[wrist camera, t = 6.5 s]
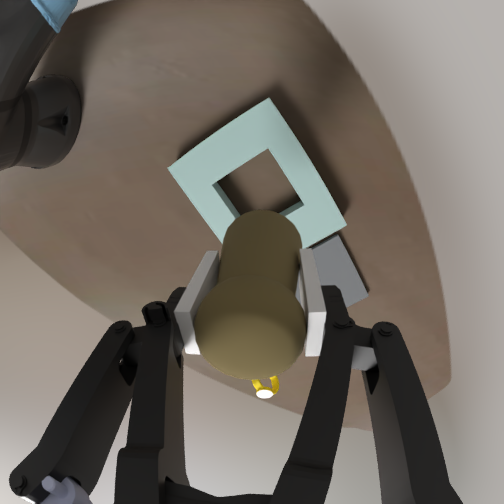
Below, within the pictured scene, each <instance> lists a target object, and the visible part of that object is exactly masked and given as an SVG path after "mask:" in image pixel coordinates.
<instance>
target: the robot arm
mask: <svg viewBox="0 0 504 504" xmlns="http://www.w3.org/2000/svg"><path fill="white" fill-rule="evenodd" d="M77 2H78V0H0V171H1V170H4V169H7V168H10V167H13V166H25V167H31V168H35V169H42V168H46V167H50V166H53V165H55V164H57V163H59V162H60V161H61V160H63V159H64V158H65V156H66V155H67V154H68V153H69V151H70V150H71V148H72V146H73V144H74V142H75V139H76V136H77V133H78V130H79V125H80V118H81V103H80V97H79V93H78V90H77V88H76V86H75V85H74V83H73V82H72V81H71V80H70V79H69V78H67V77H65V76H61V75H46V76H43V77H40V78H38V79H36V80H35V81H30V82H29V80H30V78H31V76H32V74H33V72H34V70H35V68H36V66H37V65H38V63H39V61H40V59H41V58H42V56H43V54H44V53H45V51H46V49H47V48H48V46H49V45H50V43H51V42H52V40H53V39H54V37H55V36H56V35H57V33H59V32H60V31H61V27H62V25H63V24H64V22H65V21H66V19H67V18H68V16H69V15H70V14H71V12H72V11H73V9H74V8H75V6H76V5H77ZM219 265H220V260H219V253H218V251H207V252H206V254H205V255H204V257H203V259H202V261H201V263H200V264H199V266H198V268H197V270H196V272H195V273H194V275H193V277H192V279H191V281H190V282H189V284H188V286H187V287H178V288H177V289H176V290H174V291H173V292H172V294H171V295H170V297H169V299H168V300H167V303H165V302H162V301H155V302H151V303H149V304H147V305H145V306H144V307H143V309H142V313H143V316H144V319H145V322H146V326H141V327H134V328H133V327H132V325H131V323H130V322H129V321H125V320H124V321H118V322H115V323H114V324H112V325H111V326H110V327H109V329H108V330H107V331H106V333H105V334H104V336H103V337H102V339H101V340H100V342H99V343H98V345H97V346H96V348H95V349H94V351H93V352H92V354H91V355H90V357H89V358H88V360H87V361H86V363H85V365H84V366H83V368H82V369H81V371H80V372H79V374H78V376H77V377H76V379H75V381H74V382H73V384H72V385H71V387H70V389H69V390H68V392H67V394H66V395H65V397H64V399H63V400H62V402H61V404H60V406H59V407H58V409H57V411H56V413H55V415H54V416H53V418H52V420H51V421H50V423H49V425H48V427H47V429H46V431H45V433H44V434H43V436H42V439H41V440H40V442H39V444H38V446H37V447H36V448H35V449H34V450H33V451H32V452H31V453H30V454H29V455H28V456H27V457H26V458H25V459H24V460H23V461H22V462H21V463H20V464H19V465H18V466H17V467H16V468H15V469H14V470H13V471H12V473H11V474H10V478H9V483H10V487H11V489H12V491H13V492H14V493H15V494H16V495H18V496H19V497H21V498H23V499H24V500H26V501H28V502H30V503H31V504H92V502H91V501H90V500H89V495H90V494H91V492H92V491H93V489H94V487H95V486H96V484H97V482H98V479H99V477H100V475H101V472H102V470H103V467H104V465H105V462H106V459H107V457H108V454H109V452H110V449H111V446H112V444H113V442H114V439H115V437H116V434H117V432H118V429H119V427H120V425H121V422H122V420H123V417H124V415H125V413H126V410H127V408H128V406H129V404H130V401H131V399H132V405H131V411H130V419H129V427H128V435H127V444H126V447H125V448H121V449H120V450H119V452H118V456H117V466H116V480H115V497H114V504H324V502H325V498H326V495H327V491H328V489H329V485H330V481H331V477H332V468H333V463H334V459H335V455H336V451H337V446H338V442H339V437H340V433H341V428H342V423H343V418H344V412H345V407H346V401H347V395H348V388H349V381H350V374H351V368H352V369H358V370H362V375H363V380H364V385H365V390H366V395H367V400H368V405H369V410H370V416H371V421H372V427H373V433H374V439H375V447H376V454H377V461H378V469H379V478H380V488H381V497H382V498H381V499H382V504H463V503H462V501H461V500H460V498H459V496H458V495H457V493H456V492H455V491H454V489H453V487H452V486H451V484H450V483H449V478H448V473H447V469H446V464H445V460H444V456H443V452H442V448H441V444H440V441H439V437H438V434H437V430H436V427H435V424H434V421H433V417H432V414H431V411H430V408H429V405H428V402H427V399H426V396H425V393H424V390H423V388H422V385H421V382H420V379H419V377H418V374H417V371H416V369H415V366H414V364H413V361H412V359H411V356H410V354H409V351H408V349H407V347H406V344H405V342H404V340H403V337H402V335H401V333H400V330H399V329H398V327H397V326H396V325H394V324H393V323H390V322H383V321H382V322H378V323H376V324H375V325H374V326H373V328H372V329H370V328H364V327H360V326H357V325H355V321H354V320H353V319H352V318H350V317H349V315H348V312H347V309H346V305H345V302H344V299H343V297H342V293H341V290H340V289H339V288H338V287H337V286H336V285H320V281H319V277H318V273H317V268H316V264H315V260H314V256H313V252H312V248H308V249H300V269H299V289H300V298H301V306H302V308H303V310H304V314H305V319H306V325H307V335H306V339H305V355H306V356H319V360H318V364H317V368H316V371H315V375H314V379H313V383H312V386H311V390H310V393H309V397H308V400H307V404H306V407H305V410H304V414H303V417H302V420H301V423H300V426H299V429H298V432H297V435H296V439H295V441H294V444H293V447H292V450H291V453H290V456H289V458H288V460H287V462H286V464H285V466H284V468H283V470H282V473H281V475H280V478H279V480H278V483H277V485H276V488H275V490H274V493H273V495H265V494H244V495H236V496H227V497H216V496H213V495H210V494H207V493H205V492H202V491H200V490H197V489H195V488H192V487H190V484H189V481H188V478H187V475H186V469H185V451H184V425H183V424H184V423H183V355H182V349H183V347H184V348H185V351H186V353H188V354H201V351H200V350H199V348H198V345H197V343H196V341H195V332H194V320H195V317H196V314H197V311H198V308H199V306H200V304H201V302H202V300H203V299H204V298H205V296H206V295H207V294H208V293H209V292H210V291H211V290H212V289H213V288H214V287H215V286H216V285H217V279H218V272H219ZM120 360H121V362H120Z"/></svg>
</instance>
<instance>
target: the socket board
mask: <svg viewBox="0 0 504 504" xmlns="http://www.w3.org/2000/svg"><path fill="white" fill-rule="evenodd" d="M267 148H268V149H269V150H270V152H271V153H272V155H273V156H274V158H275V159H276V161H277V162H278V164H279V165H280V167H281V168H282V170H283V172H284V173H285V175H286V176H287V178H288V179H289V181H290V183H291V184H292V186H293V187H294V189H295V191H296V192H297V194H298V195H299V197H300V199H301V201H299V202H298V203H296V204H294V205H292V206H291V207H289V208H287V209H286V210H284V211H282V212H280V213H279V214H281V215H284V216H285V217H286V218H287V219H289V220H290V221H291V222H292V223H293V224H294V225H295V227H296V228H297V230H298V232H299V233H300V236H301V241H302V246H303V247H302V249H305V248H307V247H308V246H310V245H312V244H314V243H316V242H317V241H319V240H321V239H323V238H325V237H326V236H328V235H330V234H332V233H334V232H335V231H337V230H339V229H341V228H343V227H344V226H346V225H347V224H346V222H345V220H344V219H343V217H342V215H341V213H340V211H339V209H338V207H337V206H336V204H335V202H334V200H333V198H332V196H331V195H330V193H329V191H328V189H327V188H326V186H325V184H324V182H323V181H322V179H321V177H320V176H319V174H318V172H317V170H316V169H315V167H314V165H313V164H312V162H311V161H310V159H309V157H308V156H307V154H306V152H305V151H304V149H303V148H302V146H301V144H300V143H299V141H298V140H297V138H296V137H295V135H294V134H293V132H292V131H291V129H290V128H289V126H288V125H287V123H286V122H285V120H284V119H283V117H282V116H281V114H280V113H279V111H278V110H277V108H276V107H275V106H274V104H273V103H272V101H271V100H270V99H269V98H268V99H266V100H264V101H263V102H261V103H259V104H258V105H256V106H255V107H253V108H251V109H250V110H248V111H247V112H245V113H243V114H242V115H240V116H239V117H237V118H236V119H234V120H233V121H231V122H230V123H228V124H227V125H225V126H224V127H222V128H221V129H220V130H218V131H217V132H215V133H214V134H212V135H211V136H210V137H208V138H207V139H205V140H204V141H203V142H201V143H200V144H198V145H197V146H196V147H194V148H193V149H192V150H190V151H189V152H188V153H186V154H185V155H184V156H183V157H181V158H180V159H179V160H177V161H176V162H175V163H174V164H172V165H171V166H170V167H169V168H168V170H169V171H170V173H171V174H172V175H173V177H174V178H175V180H176V181H177V182H178V184H179V185H180V187H181V188H182V189H183V191H184V192H185V193H186V195H187V196H188V198H189V199H190V200H191V202H192V203H193V204H194V206H195V207H196V209H197V210H198V211H199V213H200V214H201V215H202V217H203V218H204V220H205V221H206V222H207V224H208V225H209V226H210V228H211V229H212V230H213V232H214V233H215V234H216V236H217V237H218V239H219V240H220V241H221V243H222V244H223V239H224V236H225V233H226V231H227V228H228V227H229V226H230V225H231V223H232V222H233V221H234V220H235V219H236V218H238V217H239V216H241V215H240V214H239V213H238V211H237V210H236V208H235V207H234V205H233V204H232V203H231V201H230V200H229V198H228V197H227V196H226V194H225V193H224V191H223V190H222V188H221V187H220V186H219V184H218V183H217V181H218V180H220V179H221V178H223V177H224V176H226V175H227V174H229V173H230V172H232V171H233V170H235V169H236V168H238V167H239V166H241V165H242V164H244V163H245V162H247V161H248V160H250V159H252V158H253V157H255V156H256V155H258V154H259V153H261V152H263V151H264V150H266V149H267Z"/></svg>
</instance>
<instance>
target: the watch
mask: <svg viewBox="0 0 504 504" xmlns="http://www.w3.org/2000/svg"><path fill="white" fill-rule="evenodd" d="M270 379H271V382H272V389H271V388H269V387H263V385H262V384H261V382H260V380H259V379H258V380H252V383H253V385H254V387H255V388H256V390H257V391H256V394H257V396H258V397H260V398H269V397H271V396H272V395H273V394H276V393H277V391H278V390H279V381H278V378H277V375H276V376H273V377H270Z"/></svg>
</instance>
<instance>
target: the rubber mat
mask: <svg viewBox="0 0 504 504" xmlns="http://www.w3.org/2000/svg"><path fill="white" fill-rule="evenodd" d="M312 252H313V256H314V260H315V264H316V268H317V273H318V277H319V281H320V285H336V286H337V287H338V288H339V289H340V290H341V293H342V297H343V299H344V302H345V305H346V307H348V306H350V305H352V304H354V303H356V302H358V301H360V300H362V299H364V298H366V297H368V296H369V295H368V293H367V291H366V289H365V287H364V285H363V283H362V281H361V278H360V276H359V274H358V272H357V270H356V268H355V266H354V264H353V262H352V260H351V258H350V256H349V255H348V253H347V251H346V249H345V247H344V245H343V243H342V241H341V239H340V237H339V236H338V234H336V235H334V236H332V237H330V238H329V239H327V240H325V241H323V242H321V243H319V244H318V245H316V246H314V247H312ZM295 297H296V298H297V300H298V301H299V303H300V304H301V298H300V289H299V276H298V283H297V289H296V296H295Z"/></svg>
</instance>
